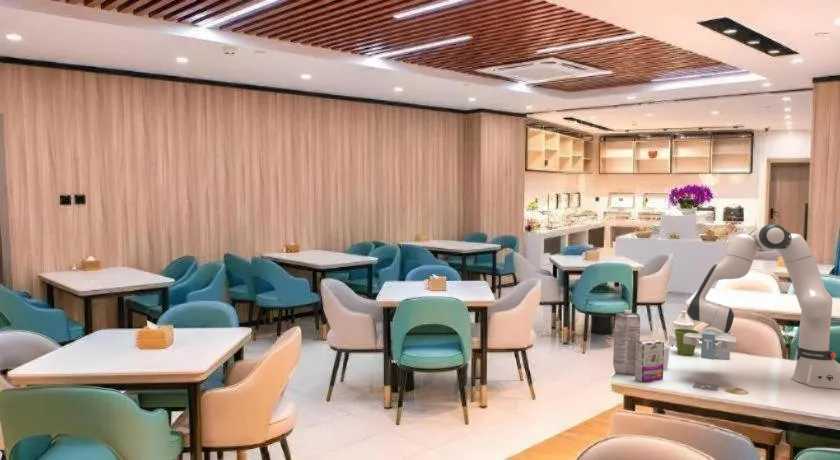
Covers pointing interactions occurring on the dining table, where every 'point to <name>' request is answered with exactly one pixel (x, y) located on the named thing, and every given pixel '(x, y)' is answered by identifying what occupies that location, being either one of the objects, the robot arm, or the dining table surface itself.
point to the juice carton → (626, 342)
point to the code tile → (706, 386)
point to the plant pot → (681, 347)
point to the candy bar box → (649, 360)
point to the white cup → (666, 357)
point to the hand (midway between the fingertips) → (708, 345)
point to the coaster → (736, 391)
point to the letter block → (707, 345)
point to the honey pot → (680, 327)
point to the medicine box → (721, 353)
